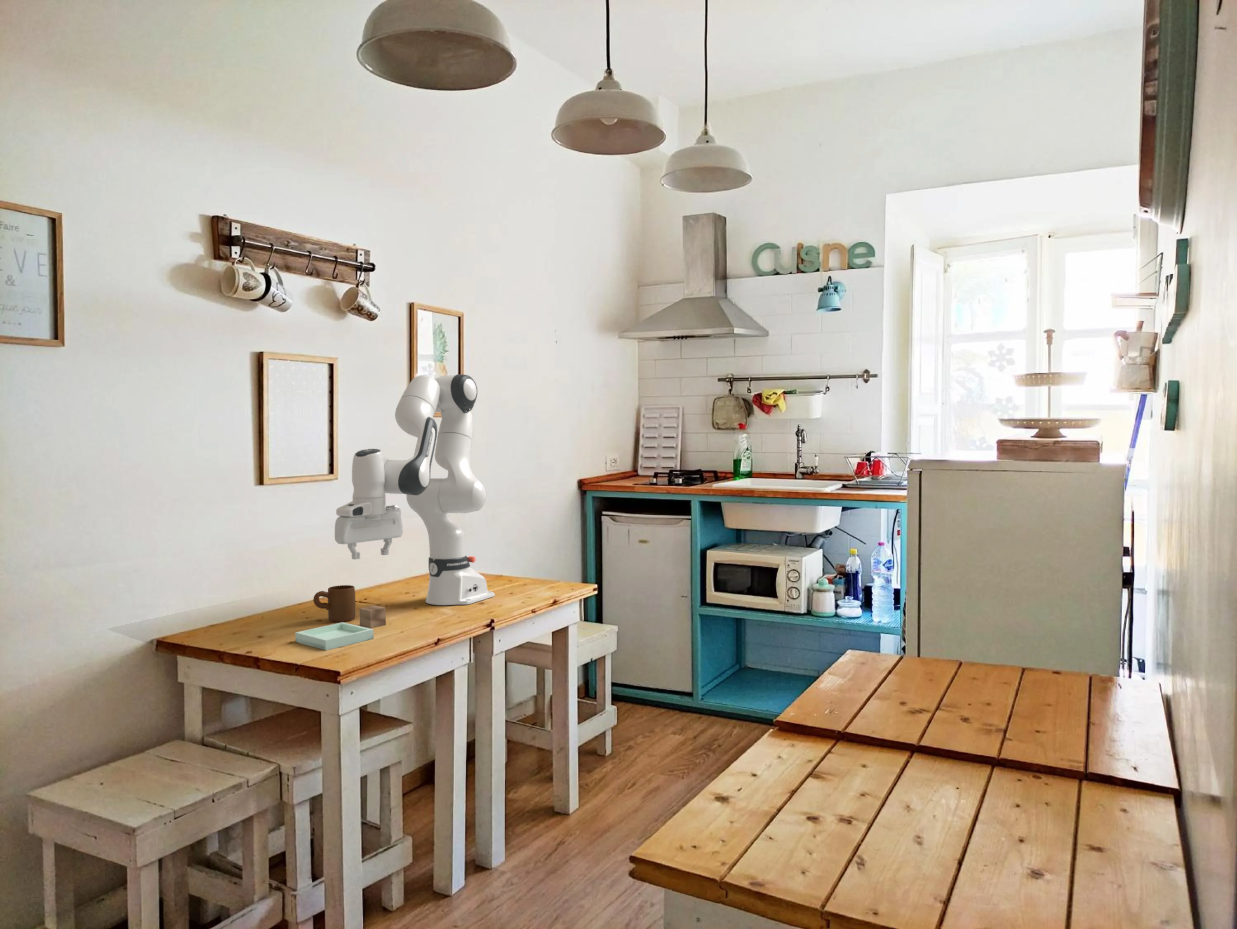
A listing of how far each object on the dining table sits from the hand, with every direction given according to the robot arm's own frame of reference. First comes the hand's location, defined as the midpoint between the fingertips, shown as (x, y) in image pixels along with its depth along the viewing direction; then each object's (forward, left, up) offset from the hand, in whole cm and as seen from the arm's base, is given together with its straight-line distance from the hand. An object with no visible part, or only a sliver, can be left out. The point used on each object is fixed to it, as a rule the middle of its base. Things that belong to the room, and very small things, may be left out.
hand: (370, 556), depth 239 cm
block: (0, 0, -20) cm, 20 cm away
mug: (+3, -14, -20) cm, 24 cm away
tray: (+16, +6, -19) cm, 26 cm away
